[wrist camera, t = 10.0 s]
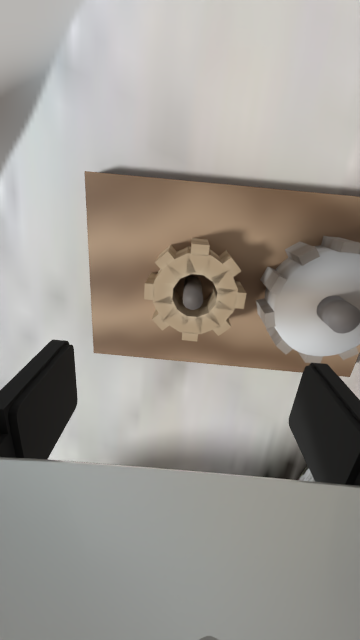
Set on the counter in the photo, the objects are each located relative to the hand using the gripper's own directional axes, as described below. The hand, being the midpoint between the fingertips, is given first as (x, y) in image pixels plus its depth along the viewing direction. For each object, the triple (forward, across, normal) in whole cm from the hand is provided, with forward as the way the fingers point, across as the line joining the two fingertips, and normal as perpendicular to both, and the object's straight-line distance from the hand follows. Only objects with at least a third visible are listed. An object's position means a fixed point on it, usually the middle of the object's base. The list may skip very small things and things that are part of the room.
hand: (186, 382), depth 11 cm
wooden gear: (+13, 0, -1) cm, 13 cm away
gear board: (+15, -4, -1) cm, 15 cm away
